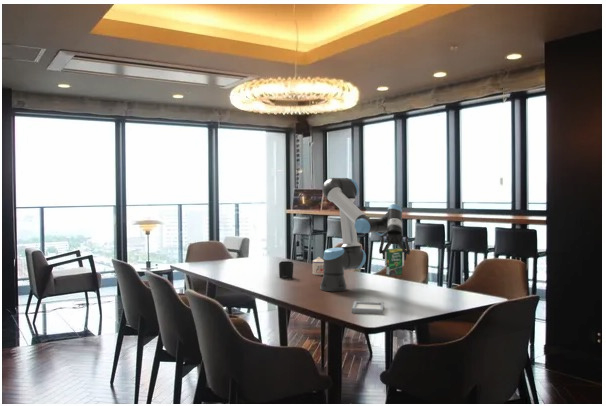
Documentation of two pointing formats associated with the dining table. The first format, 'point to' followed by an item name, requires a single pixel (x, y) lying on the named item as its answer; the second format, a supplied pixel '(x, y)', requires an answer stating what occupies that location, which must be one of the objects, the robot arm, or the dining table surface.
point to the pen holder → (286, 269)
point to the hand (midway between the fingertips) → (394, 264)
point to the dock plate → (367, 307)
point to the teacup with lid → (318, 266)
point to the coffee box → (394, 262)
